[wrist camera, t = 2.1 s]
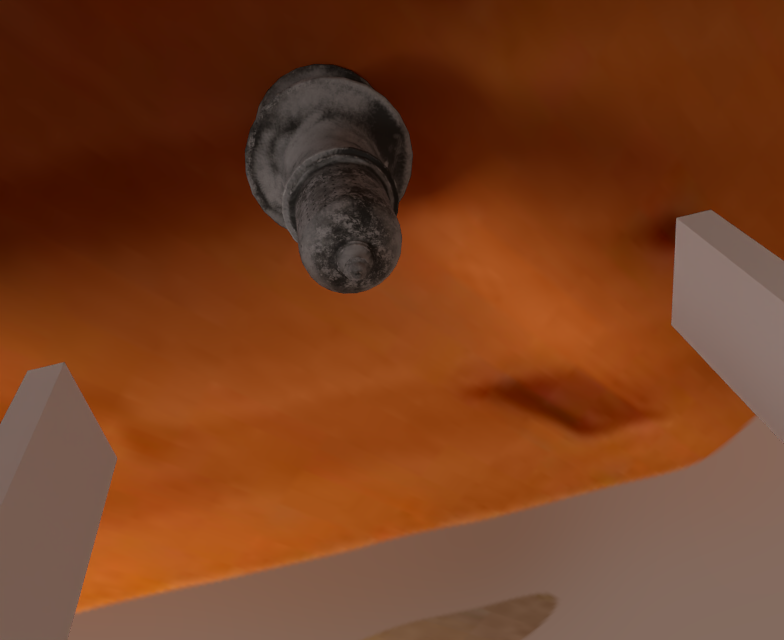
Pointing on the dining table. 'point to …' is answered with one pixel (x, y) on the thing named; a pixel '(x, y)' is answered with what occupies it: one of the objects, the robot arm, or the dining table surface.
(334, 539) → the dining table surface
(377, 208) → the dark grey tall piece
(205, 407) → the dining table surface
